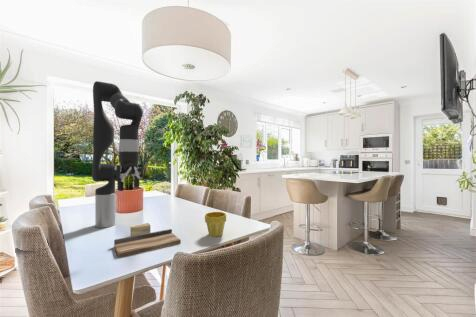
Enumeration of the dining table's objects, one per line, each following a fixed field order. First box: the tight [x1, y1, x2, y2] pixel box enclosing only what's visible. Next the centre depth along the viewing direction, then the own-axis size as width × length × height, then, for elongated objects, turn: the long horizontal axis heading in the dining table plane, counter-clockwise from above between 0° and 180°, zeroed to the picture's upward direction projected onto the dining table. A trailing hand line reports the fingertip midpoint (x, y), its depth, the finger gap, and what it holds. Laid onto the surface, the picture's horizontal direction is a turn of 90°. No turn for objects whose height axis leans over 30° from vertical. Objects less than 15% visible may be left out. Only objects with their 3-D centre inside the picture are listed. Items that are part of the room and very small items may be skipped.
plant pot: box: [204, 211, 227, 237], centre depth 109 cm, size 10×10×10 cm
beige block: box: [130, 222, 151, 237], centre depth 106 cm, size 5×8×5 cm, turn 126°
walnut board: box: [113, 228, 182, 258], centre depth 95 cm, size 12×24×3 cm, turn 126°
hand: (128, 189), depth 94 cm, fingers open, 8 cm apart
